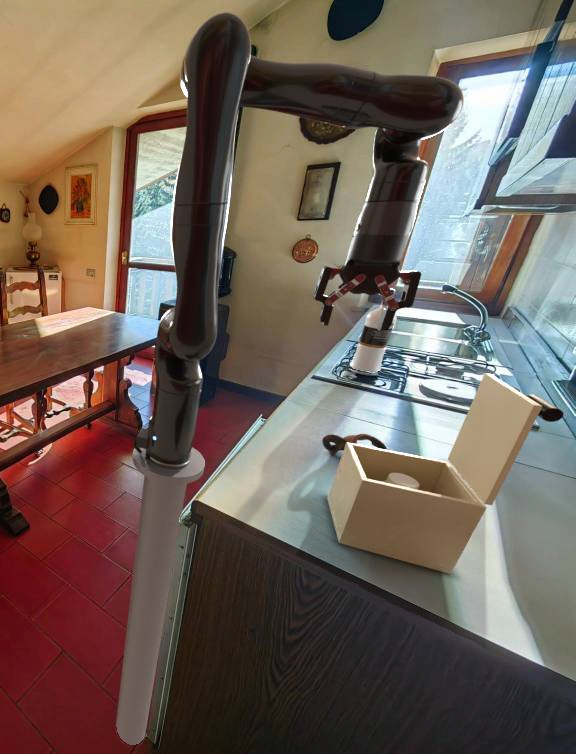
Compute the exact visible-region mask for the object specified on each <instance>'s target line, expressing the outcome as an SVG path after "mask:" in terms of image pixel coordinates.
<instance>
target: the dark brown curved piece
mask: <svg viewBox="0 0 576 754" xmlns="http://www.w3.org/2000/svg"><path fill="white" fill-rule="evenodd" d="M358 441H369V442H371V445H372V447H375V448H380V449H385V450H389V449H388V448H387V446H386V445H385V443H383V442H382V441H381V440H380V439H378V438H377V437H375V436H372V435H370V434H367V433H358V434H350V435H346V436H344V437H342V436H339V435H338V434H334V433H333V434H332V433H331V434H326V435H325V436H324V437H322V441H321V442H322V446H323V448H324V449H325V450H326V451H327V452H329V455H330V456H331V457H332V458H335V457H336V454H337V453H338V452H339V451H340V452H341V451H342V452H343V451H344V448H345V445H346V442H349V443H354V444H358Z"/></svg>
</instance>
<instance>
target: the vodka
mask: <svg viewBox="0 0 576 754" xmlns="http://www.w3.org/2000/svg"><path fill="white" fill-rule="evenodd" d="M390 290H391V292H392V294H393V296H395V293H396V289H394V288H390ZM383 308H386V306H385V304H384V302H383V300H382V299H381V303H380V306H379V308H376V309H374V310H372V311H369V312H368V313H367V315H366V316H365V322H364V323H363V324H364V325H363V329H362V332H361V335H360V338H359V341H358V343H357V347H356V350H355V353H354V355H353V357H352V360H351V362H350V363H349V365H350V366H351V367H352V368H353V369H356V370H363V371H370V372H378V371H380V370H382V362H383V359H384V356H385V352H386V351H387V350H388V349H387V347H388V345H389V341H390V338H391V335H392V333H393V330H394V328H395V325H396V323H397V320H398V316H397V314H396V313H395V316H394V318H393V321H392V324H391V326H390V327H389V328H386V329H385V331H379V330H378V329H377V326H378V323H379V320H380V317H381V314H382V311H383ZM348 370H349V371H350V372H352V373H353V374H357V375H361V376H367V377H375V376H378V375H379V374H365V373H361V372H357V371H354V370H352V369H350V368H349V367H348ZM380 372H381V371H380Z"/></svg>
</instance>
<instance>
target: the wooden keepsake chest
mask: <svg viewBox="0 0 576 754" xmlns="http://www.w3.org/2000/svg"><path fill="white" fill-rule="evenodd" d="M390 473H401V474H405V475H407V476H410V477H412V478H413V479H415V480H416V481H417V482H418V483H419V488H418V490H417V489H412V488H408V487H403V486H398V485H394V484H389V483H385V482H382V481H386V479H387V478H388V475H389V474H390ZM327 503H328V507H329V510H330V515H331V518H332V519H331V520H332V522H333V526H334V530H335V533H336V537H337V540H338V543H339V544H340V545H341V544H342V545H344V546H348V547H350V548H351V547H352V548H355V549H359V550H363V551H366V552H369V553H373V554H377V555H380V556H384V557H387V558H391V559H395V560H399V561H402V562H406V563H409V564H413V565H416V566H420V567H423V568H427V569H431V570H434V571H438V572H441V573H445V574H449V575H451V574H452V572H453V571H454V569H455V567H456V566H457V563H458V562H459V559H460V558H461V557H462V554H463V553H464V550H465V548H466V547H467V545H468V543H469V541H470V539H471V537H472V536H473V534H474V532H475V530H476V528H477V526H478V525H479V522H480V521H481V519H482V517H483V516H484V513H485V512H486V510H487V506H486V504H484V502H483V501H482V500H481V499H480V498H479V496H478V495H477V494H476V493H475V492H474V490H473V489H472V488H471V487H470V485H469V484H468V483H467V482H466V481H465V479H464V478H463V477H462V476H461V475H460V473H459V472H458V471H457V470H456V468H455V467H454V466H453V465H452V464H451V462H450V461H447V460H441V459H437V458H431V457H426V456H420V455H416V454H411V453H406V452H400V451H395V450H391V449H390V450H389V449H388V450H385V449H380V448H377V447H375V446H369V445H364V444H359V443H357V444H354V443H349V442H346V445H345V448H344V451H342V454H341V457H340V460H339V463H338V466H337V469H336V472H335V475H334V477H333V480H332V483H331V487H330V489H329V491H328V495H327Z"/></svg>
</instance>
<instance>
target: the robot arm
mask: <svg viewBox="0 0 576 754" xmlns="http://www.w3.org/2000/svg"><path fill="white" fill-rule="evenodd" d="M179 85H180V88H181V90H182V93H183V95H184V96H185V97H186V99H187V100H186V102H187V103H186V105H187V106H186V128H185V135H184V136H185V137H184V143H183V147H182V151H181V152H182V153H181V157H180V161H179V165H178V170H177V175H176V179H175V185H174V191H173V197H172V198H173V199H172V208H171V217H170V218H171V220H170V246H171V253H172V260H173V266H174V271H175V275H176V276H175V278H176V298H175V305H174V307H171V308H170V309H168V310H167V311H166V312H165V313H164V314H163V316H162V317H161V319H160V321H159V324H158V328H157V333H156V342H155V354H154V371H155V372H154V373H155V384H154V394H153V403H152V410H151V417H150V418H149V421H148V426H147V428H144V427H141V429H140V431H139V432H138V434H137V436H136V437H135V438H134V439H133V442H132V444H133V448H135V449H136V450H137V451H138V452H139V454H140V453H142V451H141V449H140V448H143V449H146V453H145V459H149V460H151V461H152V462H153V463H155V464H157V465H159V466H161V467H165V468H172V469H177V468H183V467H185V466H187V465H188V464H189V463H190V459H191V450H192V447H193V444H194V437H195V432H196V426H197V419H198V414H199V409H200V408H199V407H200V402H201V394H202V389H203V382H204V376H203V373H202V369H201V365H200V361H202V360H203V359H205V358H206V357H207V356H208V355H209V354H210V352H211V351H212V350H213V349H214V346H215V344H216V341H217V337H218V311H219V309H218V305H219V304H218V303H219V300H218V299H219V284H220V276H221V269H222V263H223V255H224V247H225V239H226V233H227V226H228V225H227V224H228V219H229V212H230V211H229V210H230V204H231V193H232V192H231V190H232V181H233V170H234V157H235V156H234V155H235V138H236V129H237V122H238V119H239V118H238V117H239V112H240V107H241V108H250V109H259V110H265V111H271V112H276V113H281V114H284V115H285V114H286V115H289V116H294V117H300V118H303V119H307V120H311V121H314V122H315V121H316V122H320V123H323V124H326V125H331V126H336V127H338V128H343V129H349V130H361V129H366V128H375V130H374V131H375V132H374V136H373V149H372V161H371V162H372V174H371V177H370V180H369V184H368V187H367V191H366V195H365V197H364V201H363V202H364V203H363V204H362V207H361V210H360V212H359V214H358V217H357V219H356V223H355V227H354V230H353V234H352V237H351V241H350V244H349V247H348V251H347V254H346V258H345V262H344V264H343V266H341V267H331V266H329V265H325V266H323V267H322V269H321V271H320V274H319V277H318V280H317V283H316V286H315V289H314V292H313V295H312V297H313V299H314V300H315V301H317V302H319V303H322V307H321V311H320V313H319V314H320V315H319V321H320V323H321V324H322V326H325V327H328V326H329V323H330V320H331V317H332V313H333V310H334V305H333V304H335V302H337V301H338V300H339V299H341V298H343V297H344V296H345V295H346V294H348V293H351V294H353V295H362V294H365V295H367V296H375V295H378V296H379V298H380V299H381V301H382V300H383V302H384V304H385V306H386V308H383V311H382V314H381V317H380V320H379V323H378V326H377V329H378V330H379V331H385V329H386V328H389V327H390V326H391V324H392V321H393V318H394V316H395V314H396V312H397V311H398V310H401V309H409V308H411V307H413V305H414V302H415V299H416V295H417V291H418V288H419V285H420V281H421V277H422V273H421V271H418V270H415V269H410V270H404V271H403V270H401V271H400V266H401V265H400V264H401V262H402V259H403V256H404V252H405V250H406V248H407V244H408V242H409V239H410V235H411V233H412V231H413V229H414V223H415V220H416V217H417V211H418V205H419V202H420V199H421V195H422V193H423V189H424V186H425V184H426V181H427V177H428V175H429V168H430V167H429V163H428V162H427V161H426V160H423V159H420V152H421V143H422V140H425V139H428V138H431V137H433V136H436V135H437V134H440V133H442V132H443V131H445V130H446V129H447V128H449V127H451V125H452V124H453V123H454V122H455V121H456V120H457V118H458V117H459V115H460V114H461V112H462V109H463V107H464V101H465V100H464V99H465V97H464V93H463V91H462V88H461V87H460V86H459V85H458V84H457V83H456V82H455V81H452V80H451V79H448V78H445V77H441V76H435V75H423V74H422V75H420V74H419V75H418V74H386V73H385V74H384V73H381V72H378V71H375V70H370V69H368V68H367V69H366V68H362V67H359V66H358V67H357V66H355V65H354V66H353V65H349V64H343V63H336V62H282V61H275V60H268V59H265V58H261V57H257V56H255V55H252V40H251V36H250V32H249V29H248V27H247V25H246V23H245V22H244V20H242V18H241V17H240V16H238V15H237V14H235V13H232V12H228V11H227V12H225V11H223V12H219V13H217V14H214V15H213V16H211V17H209V18H208V19H207V20H205V22H203V24H201V25H200V26H199V28H198V29H197V30H196V31H195V33H194V34H193V36H192V38H191V39H190V41H189V43H188V45H187V47H186V50H185V53H184V56H183V60H182V61H181V65H180V70H179ZM337 275H338V276H339V277H340V279H341V280H342V282H341V283H340V284H339V285H337V287H335V288H334V289H333V291H331V292H329V294H327V295H325V293H326V291H327V290H326V289H327V286H328V284H329V281H331V280H334V279H335V277H336V276H337ZM398 279H400V282H401V284H403V288H402V292H401V295H400V299H398V300H396V299H395V297H394V296H395V295H394V296H393V294H392V292H391V290H390V289H391V288H390V287H389V286H391V285H392V284H393V283H394V282H395V281H397V280H398Z"/></svg>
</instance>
